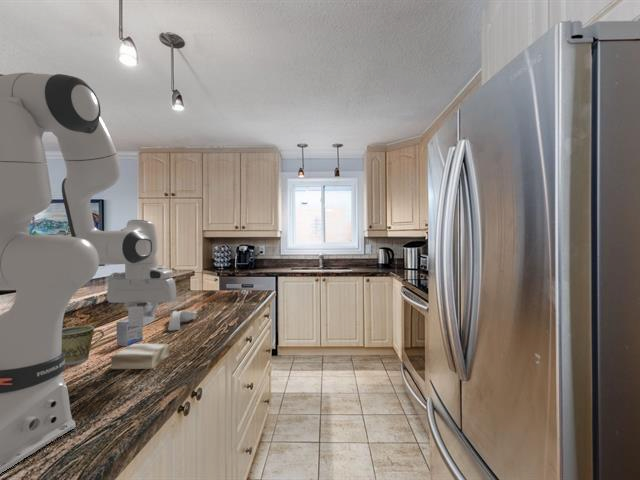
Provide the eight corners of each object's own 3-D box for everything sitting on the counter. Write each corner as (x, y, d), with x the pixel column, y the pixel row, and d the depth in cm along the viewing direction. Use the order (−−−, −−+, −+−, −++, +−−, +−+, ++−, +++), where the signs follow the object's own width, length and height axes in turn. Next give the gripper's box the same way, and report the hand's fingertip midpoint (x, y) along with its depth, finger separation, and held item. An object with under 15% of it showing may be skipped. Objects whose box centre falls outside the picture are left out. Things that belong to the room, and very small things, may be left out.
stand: (152, 368, 94) (151, 355, 94) (111, 368, 94) (111, 355, 94) (169, 355, 105) (169, 343, 105) (133, 355, 105) (133, 343, 105)
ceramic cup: (46, 369, 94) (46, 335, 94) (64, 357, 103) (63, 326, 103) (97, 364, 97) (97, 332, 97) (109, 353, 107) (109, 323, 107)
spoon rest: (173, 318, 156) (173, 304, 156) (198, 317, 158) (198, 302, 158) (159, 332, 133) (159, 315, 133) (189, 330, 135) (189, 313, 135)
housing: (155, 320, 103) (155, 300, 103) (143, 326, 96) (143, 305, 96) (141, 320, 103) (141, 300, 103) (128, 326, 96) (128, 305, 96)
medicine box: (126, 346, 114) (126, 322, 114) (116, 345, 115) (115, 321, 115) (143, 339, 122) (143, 317, 122) (133, 339, 123) (132, 316, 123)
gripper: (101, 273, 96) (102, 319, 96) (169, 273, 96) (169, 318, 97) (114, 271, 103) (115, 314, 103) (178, 271, 103) (178, 313, 103)
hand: (142, 316), depth 100 cm, fingers closed on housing, 4 cm apart
